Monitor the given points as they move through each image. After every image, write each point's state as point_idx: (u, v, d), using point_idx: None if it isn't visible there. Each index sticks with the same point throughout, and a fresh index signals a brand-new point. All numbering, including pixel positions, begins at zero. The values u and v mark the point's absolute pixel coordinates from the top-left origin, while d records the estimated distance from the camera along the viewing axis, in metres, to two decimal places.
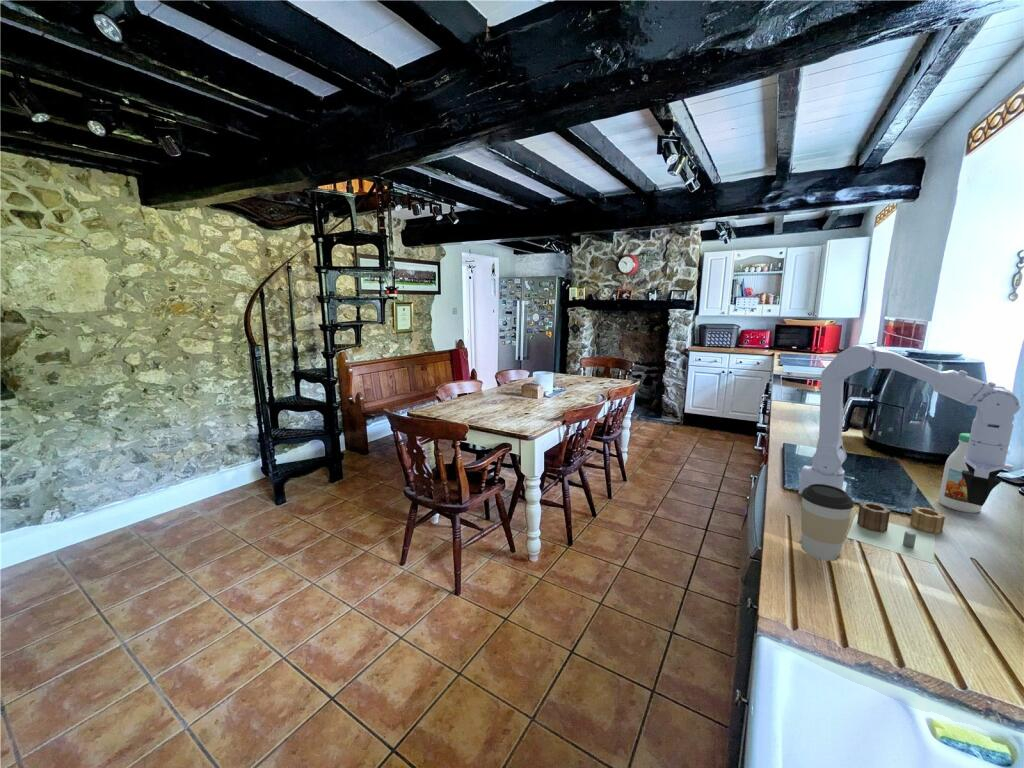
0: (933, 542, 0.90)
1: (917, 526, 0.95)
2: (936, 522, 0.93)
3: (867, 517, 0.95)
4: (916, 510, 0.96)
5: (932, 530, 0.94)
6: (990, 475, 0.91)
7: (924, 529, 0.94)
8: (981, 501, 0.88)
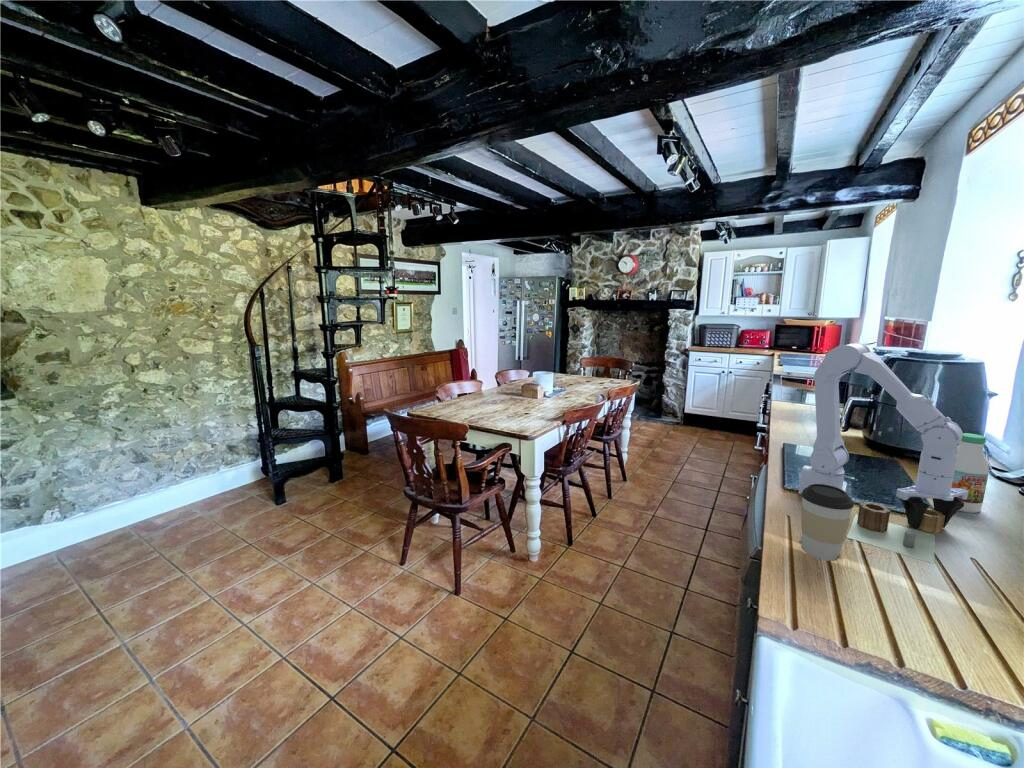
0: (933, 542, 0.90)
1: None
2: (936, 522, 0.93)
3: (867, 517, 0.95)
4: None
5: (932, 530, 0.94)
6: (947, 508, 0.94)
7: (924, 529, 0.94)
8: (915, 523, 0.95)
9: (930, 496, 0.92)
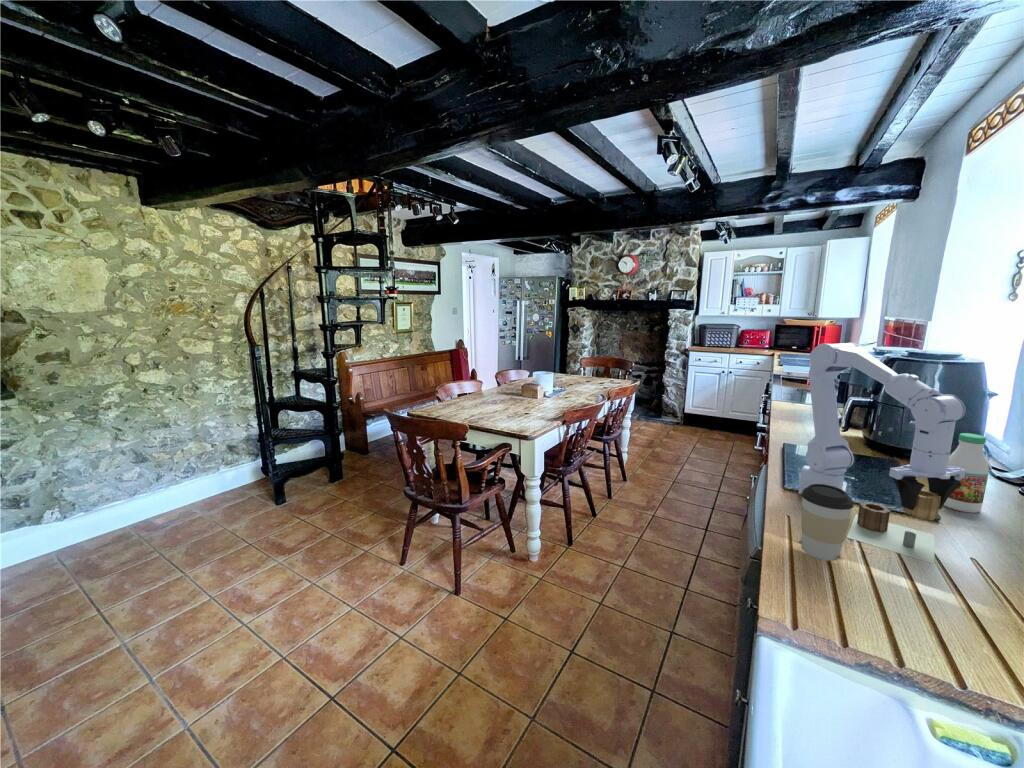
0: (933, 542, 0.90)
1: None
2: (931, 503, 0.87)
3: (867, 517, 0.95)
4: None
5: (927, 512, 0.87)
6: (943, 488, 0.87)
7: (918, 511, 0.88)
8: (909, 505, 0.89)
9: (925, 475, 0.86)
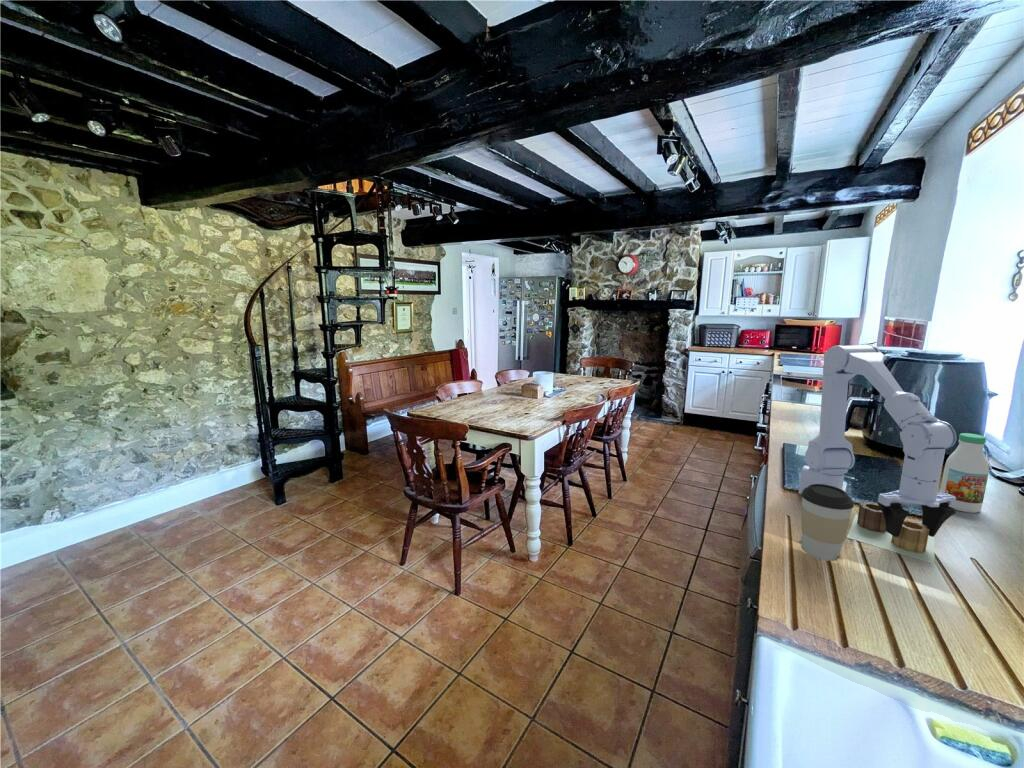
0: (933, 542, 0.90)
1: (899, 540, 0.88)
2: (919, 536, 0.85)
3: (867, 517, 0.95)
4: None
5: (915, 545, 0.86)
6: (937, 515, 0.86)
7: (906, 544, 0.87)
8: (894, 531, 0.87)
9: (914, 502, 0.84)
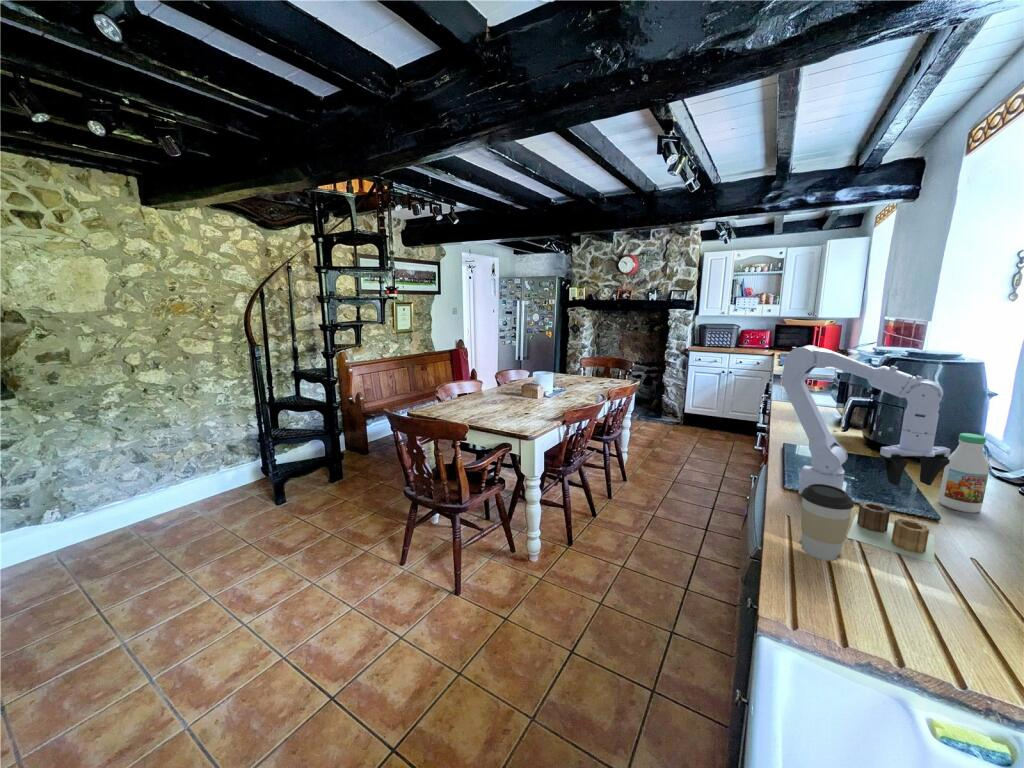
0: (933, 542, 0.90)
1: (899, 540, 0.88)
2: (919, 536, 0.85)
3: (867, 517, 0.95)
4: (898, 523, 0.89)
5: (915, 545, 0.86)
6: (933, 466, 0.96)
7: (906, 544, 0.87)
8: (894, 481, 0.98)
9: (912, 453, 0.95)
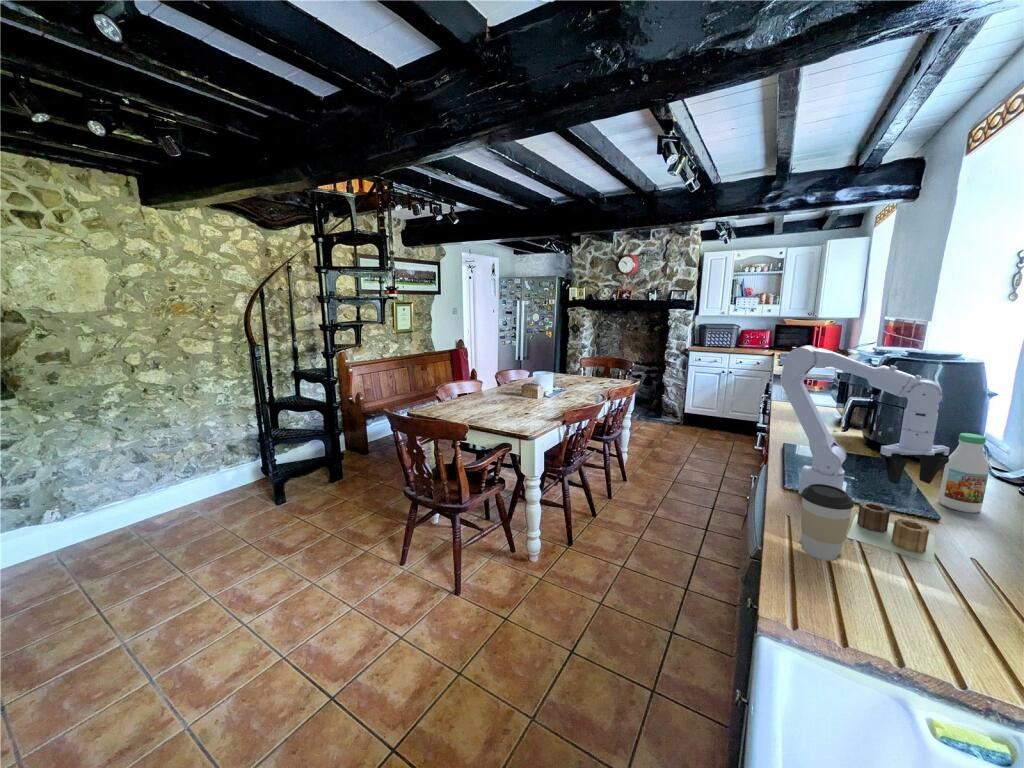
0: (933, 542, 0.90)
1: (899, 540, 0.88)
2: (919, 536, 0.85)
3: (867, 517, 0.95)
4: (898, 523, 0.89)
5: (915, 545, 0.86)
6: (933, 464, 0.97)
7: (906, 544, 0.87)
8: (895, 479, 0.98)
9: (912, 451, 0.95)
